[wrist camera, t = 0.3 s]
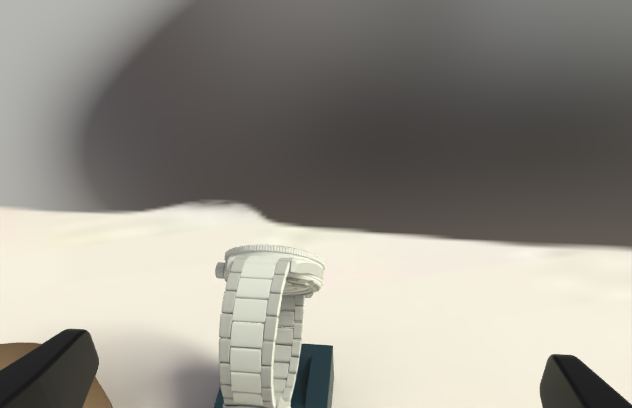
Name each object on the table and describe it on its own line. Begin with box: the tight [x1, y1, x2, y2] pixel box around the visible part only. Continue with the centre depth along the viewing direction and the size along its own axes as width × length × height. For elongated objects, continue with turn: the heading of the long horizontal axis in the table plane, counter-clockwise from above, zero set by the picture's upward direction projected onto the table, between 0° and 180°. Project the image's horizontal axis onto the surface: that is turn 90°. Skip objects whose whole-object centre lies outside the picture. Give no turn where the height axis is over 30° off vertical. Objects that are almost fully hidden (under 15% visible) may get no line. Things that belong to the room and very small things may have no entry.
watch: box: [214, 245, 334, 408], centre depth 22 cm, size 6×8×11 cm
